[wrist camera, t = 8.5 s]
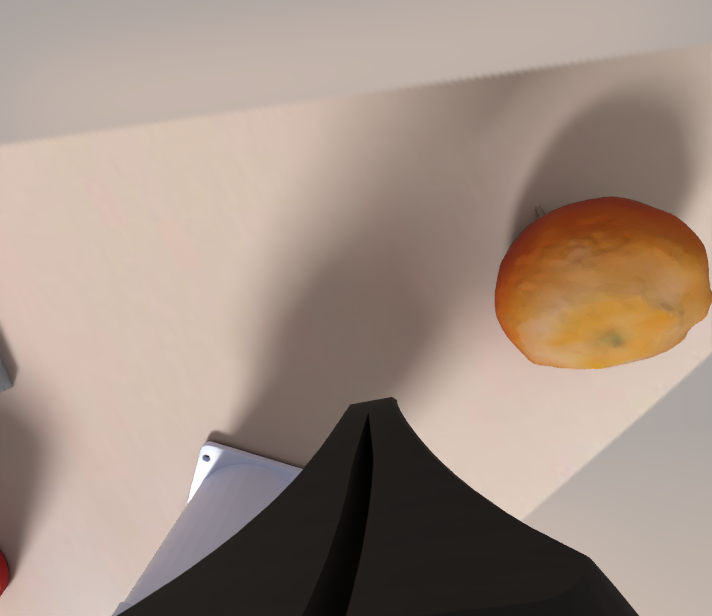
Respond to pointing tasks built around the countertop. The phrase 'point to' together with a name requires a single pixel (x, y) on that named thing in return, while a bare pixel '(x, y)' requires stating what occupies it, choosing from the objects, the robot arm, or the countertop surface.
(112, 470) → the countertop surface
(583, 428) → the countertop surface
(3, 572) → the canned food
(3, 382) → the tile
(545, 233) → the fruit
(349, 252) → the countertop surface
